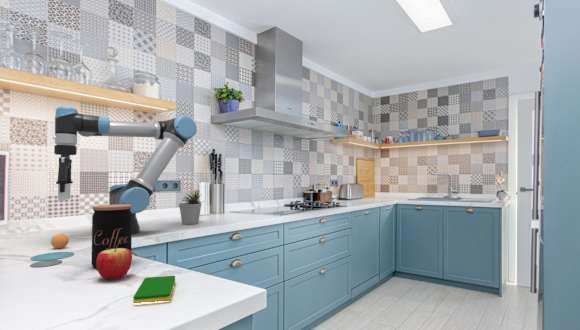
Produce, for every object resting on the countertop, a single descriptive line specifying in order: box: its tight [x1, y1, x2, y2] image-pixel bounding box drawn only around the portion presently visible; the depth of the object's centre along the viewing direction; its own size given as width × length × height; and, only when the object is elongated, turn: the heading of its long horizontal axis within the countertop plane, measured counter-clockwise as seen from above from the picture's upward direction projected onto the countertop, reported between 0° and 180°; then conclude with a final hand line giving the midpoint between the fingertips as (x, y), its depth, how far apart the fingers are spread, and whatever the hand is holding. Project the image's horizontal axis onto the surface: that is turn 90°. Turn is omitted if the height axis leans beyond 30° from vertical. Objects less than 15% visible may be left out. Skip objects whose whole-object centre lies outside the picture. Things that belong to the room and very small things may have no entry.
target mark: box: [30, 251, 75, 262], centre depth 112 cm, size 12×12×1 cm
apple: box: [96, 239, 133, 281], centre depth 87 cm, size 8×8×10 cm
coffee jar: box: [91, 204, 133, 270], centre depth 100 cm, size 11×11×18 cm
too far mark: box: [29, 259, 63, 268], centre depth 102 cm, size 8×8×1 cm
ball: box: [50, 233, 69, 250], centre depth 124 cm, size 6×6×6 cm
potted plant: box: [178, 189, 205, 226], centre depth 190 cm, size 13×14×20 cm
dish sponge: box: [132, 275, 176, 304], centre depth 75 cm, size 7×14×2 cm, turn 14°
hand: (64, 199), depth 133 cm, fingers open, 10 cm apart
